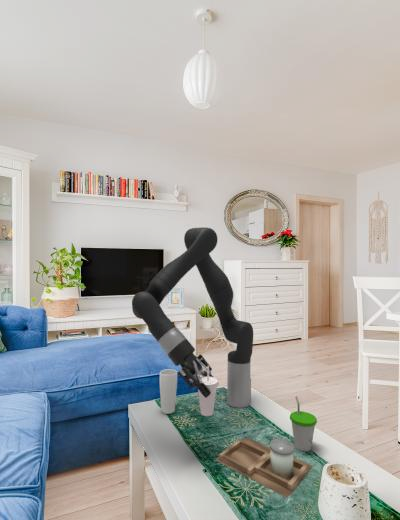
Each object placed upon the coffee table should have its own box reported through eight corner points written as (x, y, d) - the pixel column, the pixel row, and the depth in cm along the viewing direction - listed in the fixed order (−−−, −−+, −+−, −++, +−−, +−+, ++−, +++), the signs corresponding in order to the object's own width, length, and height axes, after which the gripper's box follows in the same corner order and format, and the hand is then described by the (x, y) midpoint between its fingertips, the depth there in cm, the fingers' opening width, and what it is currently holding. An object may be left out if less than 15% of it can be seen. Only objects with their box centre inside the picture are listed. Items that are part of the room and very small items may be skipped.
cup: (316, 460, 94) (317, 409, 94) (289, 455, 97) (289, 405, 97) (315, 446, 102) (316, 398, 102) (289, 441, 104) (290, 395, 104)
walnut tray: (245, 440, 104) (245, 432, 104) (313, 470, 90) (313, 460, 90) (215, 464, 92) (215, 454, 92) (287, 502, 78) (287, 491, 78)
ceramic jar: (276, 461, 92) (276, 435, 92) (298, 470, 88) (298, 444, 88) (265, 472, 87) (265, 445, 87) (287, 483, 83) (287, 455, 83)
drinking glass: (174, 416, 120) (174, 375, 120) (156, 414, 121) (157, 374, 121) (178, 408, 126) (179, 369, 126) (162, 406, 128) (162, 368, 128)
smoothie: (201, 420, 91) (201, 370, 91) (192, 410, 97) (193, 363, 97) (221, 415, 94) (222, 367, 94) (212, 406, 100) (212, 360, 99)
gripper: (174, 344, 91) (213, 393, 87) (193, 333, 105) (228, 374, 100) (157, 360, 93) (194, 409, 89) (178, 347, 107) (212, 389, 102)
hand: (212, 390), depth 95 cm, fingers closed on smoothie, 6 cm apart
